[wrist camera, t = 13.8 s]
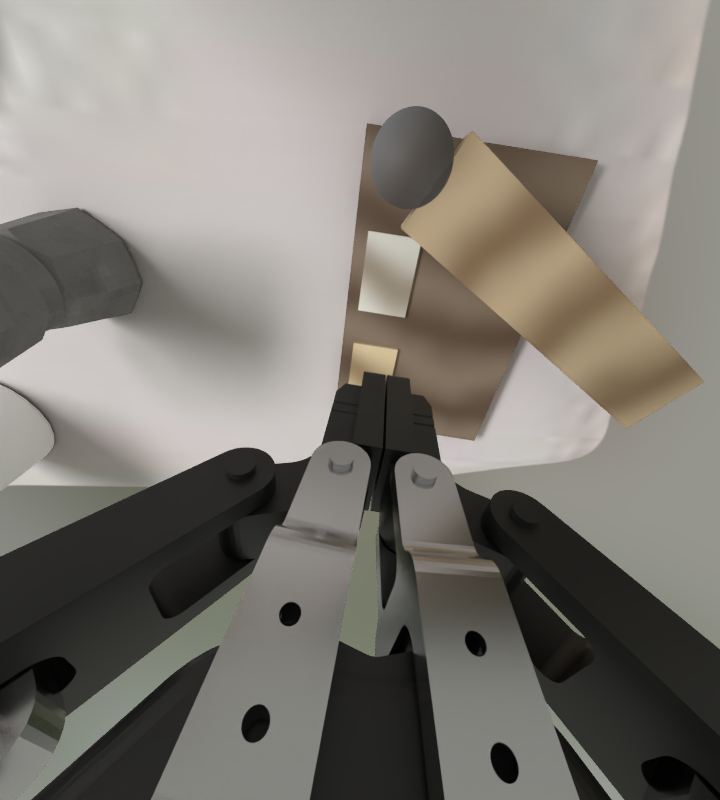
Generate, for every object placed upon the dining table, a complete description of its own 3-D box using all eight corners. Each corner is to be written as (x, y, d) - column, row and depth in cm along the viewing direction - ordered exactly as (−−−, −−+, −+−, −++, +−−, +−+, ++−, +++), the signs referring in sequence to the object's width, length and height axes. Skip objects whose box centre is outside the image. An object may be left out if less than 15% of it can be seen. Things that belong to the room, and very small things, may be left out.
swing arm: (353, 182, 18) (348, 181, 16) (413, 81, 15) (415, 68, 14) (610, 412, 24) (626, 428, 23) (681, 367, 22) (704, 381, 20)
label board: (368, 126, 21) (360, 107, 16) (588, 161, 21) (650, 153, 16) (336, 411, 35) (326, 450, 30) (471, 433, 35) (485, 475, 30)
